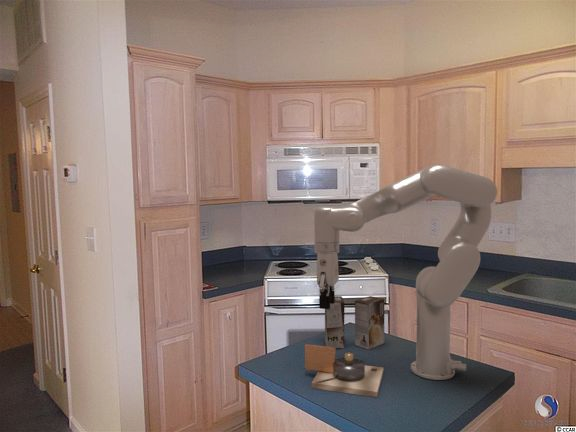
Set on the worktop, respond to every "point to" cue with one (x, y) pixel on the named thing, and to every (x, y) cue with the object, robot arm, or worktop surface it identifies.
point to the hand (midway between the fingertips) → (327, 305)
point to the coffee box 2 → (369, 322)
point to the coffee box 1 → (335, 324)
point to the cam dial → (333, 363)
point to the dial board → (351, 382)
